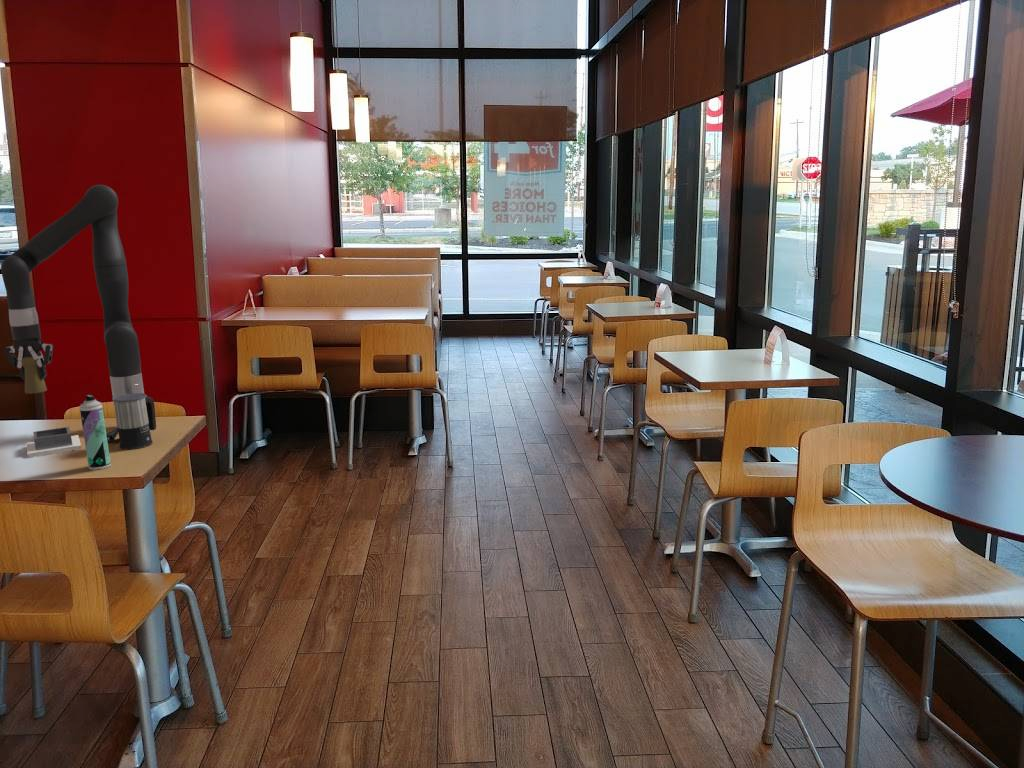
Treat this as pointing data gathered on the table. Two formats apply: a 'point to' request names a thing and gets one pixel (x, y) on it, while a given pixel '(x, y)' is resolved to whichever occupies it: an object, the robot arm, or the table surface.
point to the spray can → (94, 434)
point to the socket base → (32, 451)
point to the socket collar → (52, 438)
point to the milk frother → (133, 421)
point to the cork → (32, 376)
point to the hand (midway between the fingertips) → (34, 378)
